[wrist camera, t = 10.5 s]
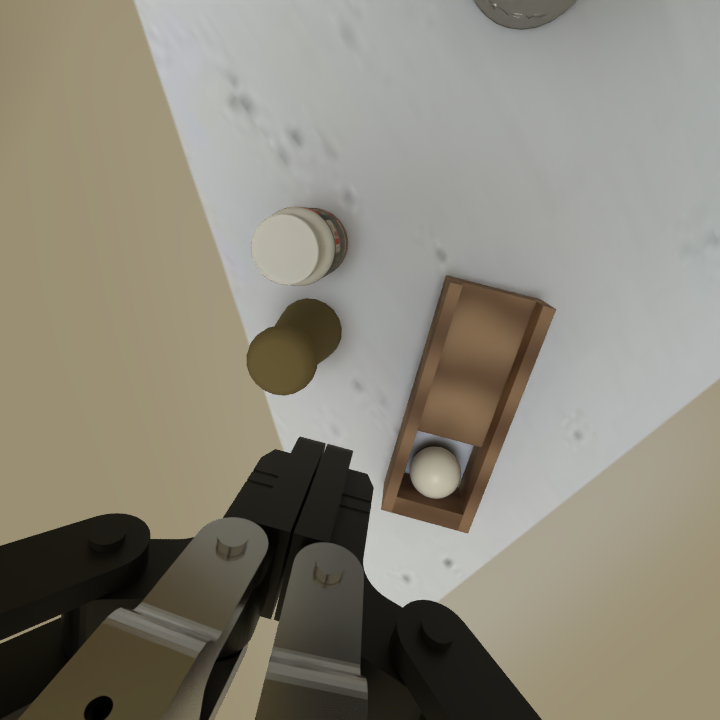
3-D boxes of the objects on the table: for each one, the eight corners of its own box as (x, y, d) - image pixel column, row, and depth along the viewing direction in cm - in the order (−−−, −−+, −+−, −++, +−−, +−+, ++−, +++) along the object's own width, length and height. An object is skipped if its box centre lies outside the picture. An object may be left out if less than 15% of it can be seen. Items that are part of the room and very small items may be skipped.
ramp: (446, 275, 38) (450, 282, 34) (540, 299, 38) (556, 309, 34) (384, 482, 45) (381, 509, 41) (462, 504, 45) (467, 533, 41)
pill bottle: (333, 198, 37) (307, 191, 28) (358, 261, 39) (340, 275, 29) (274, 223, 38) (230, 225, 29) (300, 284, 40) (265, 304, 30)
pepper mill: (354, 334, 41) (335, 374, 30) (308, 372, 42) (274, 422, 32) (311, 285, 40) (275, 308, 29) (266, 326, 41) (217, 361, 31)
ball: (405, 500, 39) (402, 478, 44) (456, 513, 39) (448, 490, 44) (419, 451, 39) (415, 434, 43) (471, 464, 39) (461, 446, 43)
